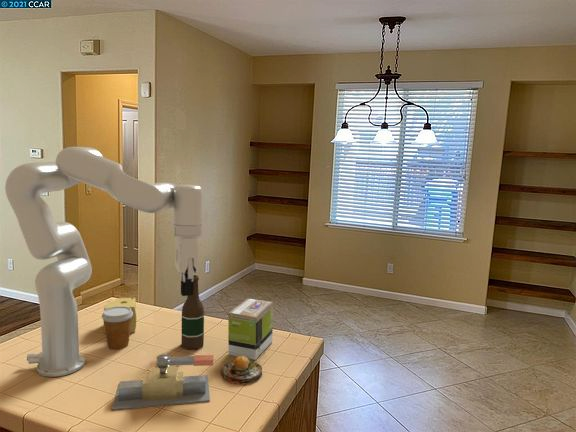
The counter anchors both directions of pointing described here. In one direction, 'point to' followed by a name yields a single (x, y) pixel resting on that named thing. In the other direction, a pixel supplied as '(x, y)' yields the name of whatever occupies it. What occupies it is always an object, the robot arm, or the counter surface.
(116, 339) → the disposable coffee cup
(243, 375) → the plate of food
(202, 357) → the lever
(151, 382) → the valve
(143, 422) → the counter surface
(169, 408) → the counter surface
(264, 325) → the tea box
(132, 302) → the cheese
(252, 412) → the counter surface
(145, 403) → the mat
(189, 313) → the beer bottle
